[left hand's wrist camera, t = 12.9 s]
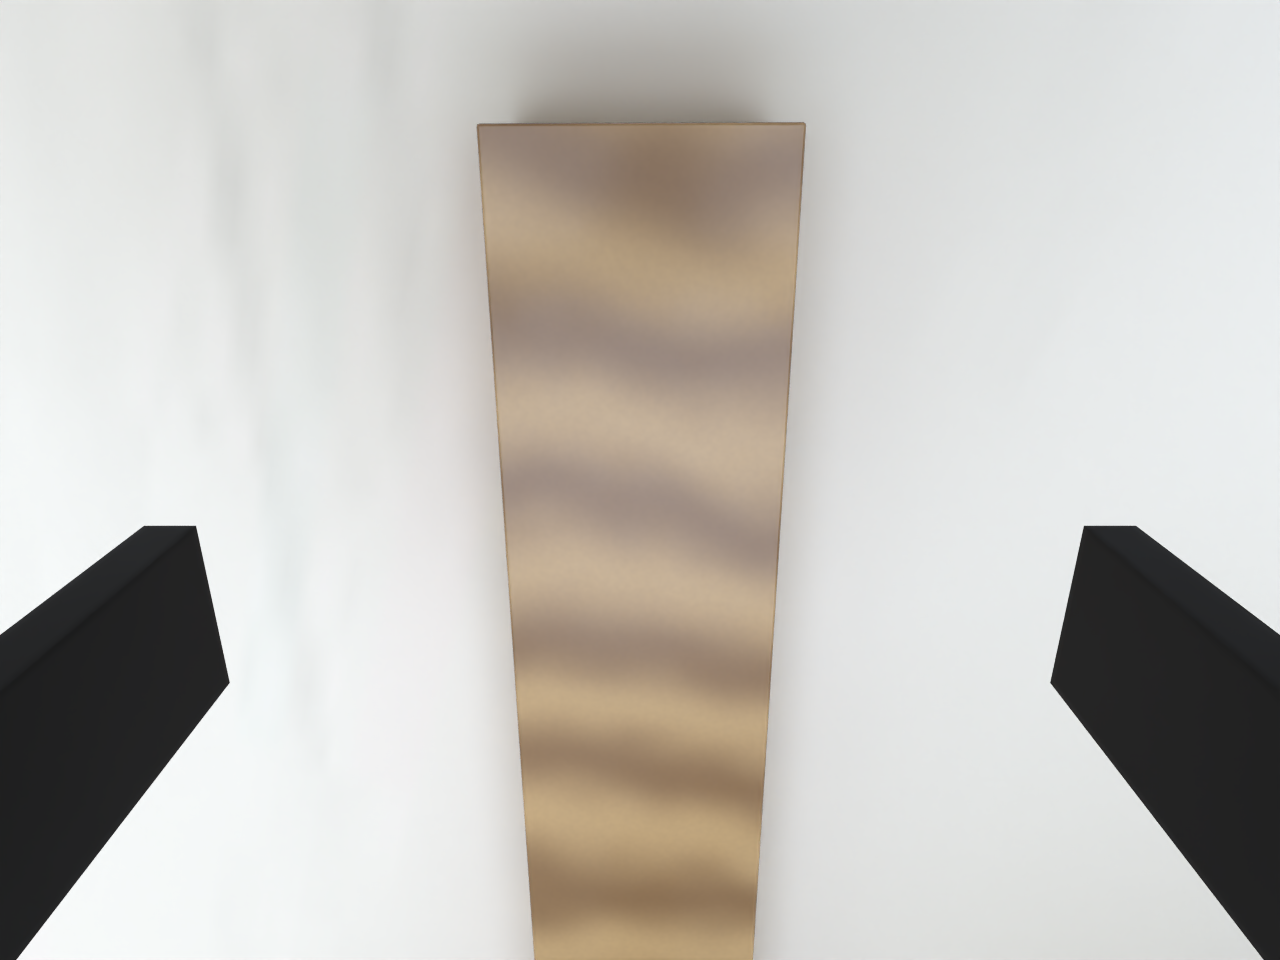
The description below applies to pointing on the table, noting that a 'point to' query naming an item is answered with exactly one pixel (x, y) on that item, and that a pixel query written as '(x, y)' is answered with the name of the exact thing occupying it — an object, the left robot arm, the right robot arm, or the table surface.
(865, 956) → the table surface
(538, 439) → the long beam
